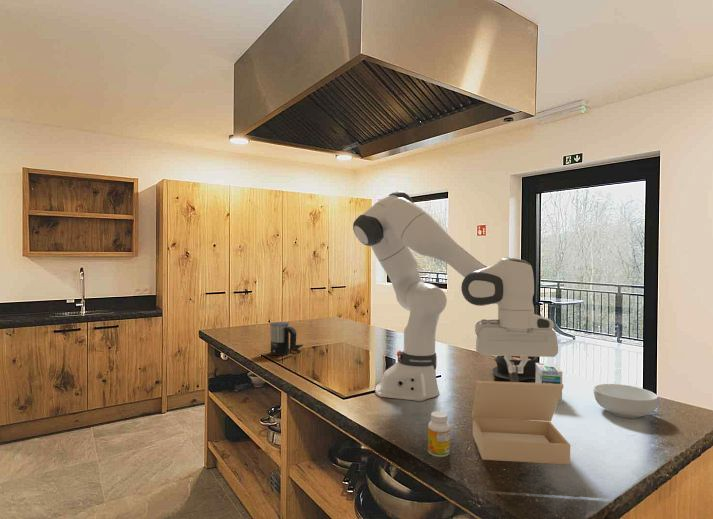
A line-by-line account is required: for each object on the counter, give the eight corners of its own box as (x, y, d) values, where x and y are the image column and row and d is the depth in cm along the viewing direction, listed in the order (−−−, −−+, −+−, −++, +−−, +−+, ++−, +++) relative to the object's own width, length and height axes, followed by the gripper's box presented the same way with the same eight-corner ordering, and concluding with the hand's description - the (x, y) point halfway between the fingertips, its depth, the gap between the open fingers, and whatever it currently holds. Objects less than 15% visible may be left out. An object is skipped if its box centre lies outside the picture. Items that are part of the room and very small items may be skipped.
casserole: (506, 366, 189) (506, 347, 189) (550, 374, 177) (551, 354, 177) (481, 378, 171) (481, 357, 170) (529, 389, 158) (529, 366, 158)
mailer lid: (477, 382, 108) (472, 353, 116) (471, 417, 117) (467, 388, 125) (563, 386, 106) (552, 356, 114) (551, 421, 115) (541, 391, 123)
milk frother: (266, 355, 205) (266, 324, 205) (278, 348, 221) (279, 319, 220) (295, 357, 203) (295, 325, 202) (305, 349, 218) (305, 320, 218)
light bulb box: (562, 404, 143) (563, 371, 143) (540, 402, 144) (541, 370, 144) (554, 393, 153) (555, 363, 153) (534, 392, 155) (534, 362, 154)
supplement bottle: (425, 448, 110) (425, 410, 109) (446, 447, 110) (446, 409, 110) (430, 458, 104) (431, 418, 104) (452, 457, 105) (453, 418, 104)
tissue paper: (489, 456, 104) (489, 450, 104) (481, 437, 115) (481, 431, 115) (558, 460, 103) (558, 454, 103) (543, 440, 114) (543, 435, 114)
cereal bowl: (647, 408, 140) (648, 386, 140) (665, 427, 124) (666, 403, 124) (589, 401, 145) (589, 380, 145) (598, 419, 130) (599, 396, 130)
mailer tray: (482, 461, 103) (482, 440, 103) (472, 436, 117) (472, 417, 117) (569, 466, 101) (570, 444, 101) (549, 440, 115) (549, 421, 115)
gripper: (477, 321, 111) (477, 375, 111) (560, 322, 109) (560, 377, 109) (473, 317, 117) (473, 368, 117) (551, 318, 115) (551, 370, 115)
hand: (516, 372), depth 113 cm, fingers closed
